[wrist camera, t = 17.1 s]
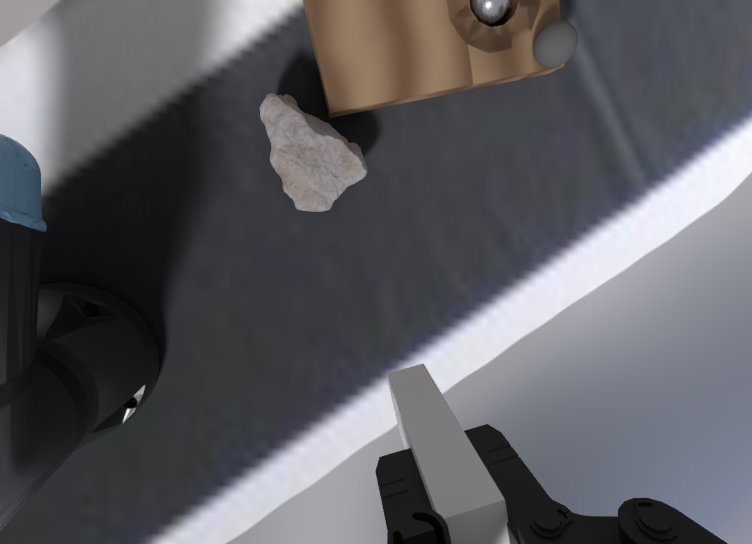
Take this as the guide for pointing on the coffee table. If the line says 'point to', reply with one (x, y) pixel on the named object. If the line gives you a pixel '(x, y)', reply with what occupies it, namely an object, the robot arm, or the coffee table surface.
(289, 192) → the stone
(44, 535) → the coffee table surface
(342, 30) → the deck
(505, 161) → the coffee table surface
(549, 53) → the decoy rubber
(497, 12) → the ball
